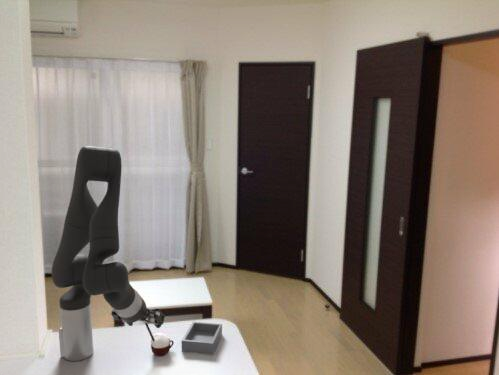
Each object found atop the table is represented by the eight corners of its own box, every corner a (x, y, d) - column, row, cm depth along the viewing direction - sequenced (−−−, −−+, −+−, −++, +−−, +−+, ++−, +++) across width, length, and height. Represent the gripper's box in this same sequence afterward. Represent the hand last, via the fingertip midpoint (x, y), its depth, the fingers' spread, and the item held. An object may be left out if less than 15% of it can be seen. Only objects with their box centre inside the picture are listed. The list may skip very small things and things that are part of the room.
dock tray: (181, 351, 156) (181, 340, 155) (193, 332, 169) (192, 321, 168) (212, 354, 154) (212, 343, 154) (222, 334, 168) (222, 324, 167)
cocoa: (173, 348, 159) (173, 314, 157) (174, 357, 153) (174, 322, 151) (144, 350, 157) (144, 315, 155) (144, 359, 151) (144, 324, 149)
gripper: (156, 292, 128) (171, 313, 142) (107, 288, 131) (126, 309, 144) (149, 319, 124) (165, 338, 137) (99, 315, 126) (119, 334, 140)
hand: (145, 323), depth 141 cm, fingers open, 8 cm apart
